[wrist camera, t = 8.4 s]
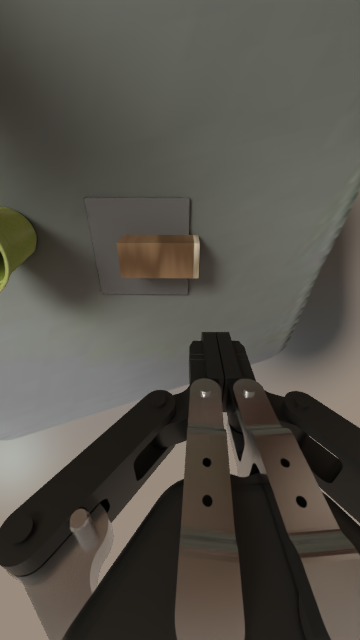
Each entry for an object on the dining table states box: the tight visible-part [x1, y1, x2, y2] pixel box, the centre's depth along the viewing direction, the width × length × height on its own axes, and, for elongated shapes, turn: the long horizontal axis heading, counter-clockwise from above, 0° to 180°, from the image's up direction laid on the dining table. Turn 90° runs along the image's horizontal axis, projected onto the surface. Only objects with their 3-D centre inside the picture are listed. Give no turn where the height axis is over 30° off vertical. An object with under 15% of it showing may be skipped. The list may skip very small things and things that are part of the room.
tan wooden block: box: [116, 235, 200, 278], centre depth 28 cm, size 4×4×9 cm
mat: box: [84, 198, 190, 295], centre depth 30 cm, size 12×12×1 cm
